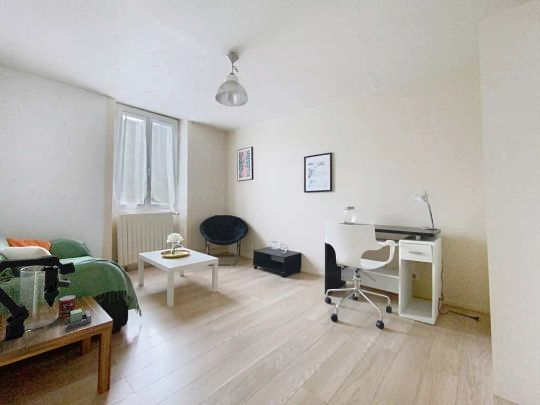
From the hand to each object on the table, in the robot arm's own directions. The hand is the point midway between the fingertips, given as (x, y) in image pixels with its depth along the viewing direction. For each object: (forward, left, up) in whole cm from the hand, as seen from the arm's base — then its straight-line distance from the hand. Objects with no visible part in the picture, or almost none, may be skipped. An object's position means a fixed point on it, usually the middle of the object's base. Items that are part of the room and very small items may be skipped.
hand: (50, 304), depth 137 cm
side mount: (+11, -7, -12) cm, 18 cm away
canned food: (+8, +9, -12) cm, 17 cm away
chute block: (+11, -7, -12) cm, 18 cm away
